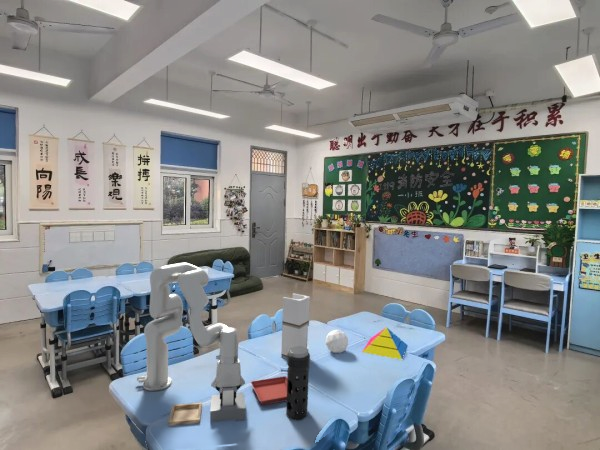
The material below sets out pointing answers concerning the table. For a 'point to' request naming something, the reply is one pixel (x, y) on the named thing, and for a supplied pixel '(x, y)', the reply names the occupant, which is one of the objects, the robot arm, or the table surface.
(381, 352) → the pyramid toy
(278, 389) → the plant saucer
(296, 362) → the muzzle brake
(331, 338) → the geodesic sphere
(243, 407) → the block
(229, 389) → the plug
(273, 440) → the table surface
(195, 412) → the tray
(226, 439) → the table surface
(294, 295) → the white banded pillar
